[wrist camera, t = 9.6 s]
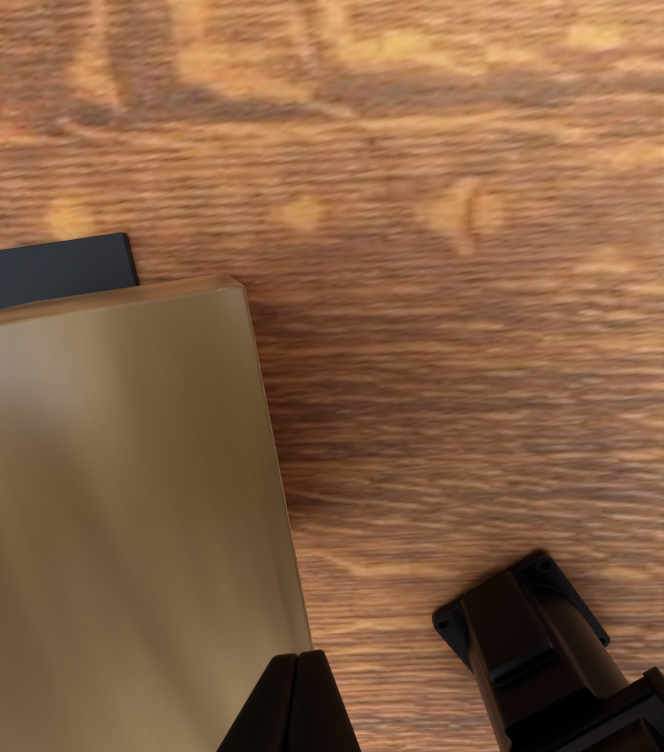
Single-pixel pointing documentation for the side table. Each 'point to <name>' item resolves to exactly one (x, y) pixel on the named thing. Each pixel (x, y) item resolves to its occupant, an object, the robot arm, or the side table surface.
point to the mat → (65, 269)
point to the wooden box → (138, 521)
